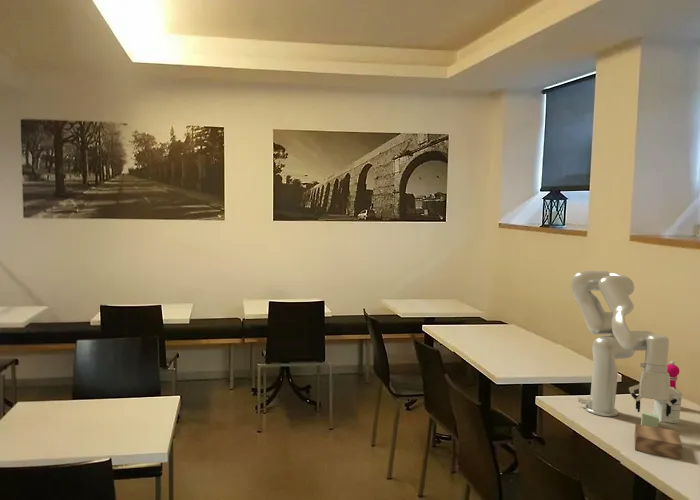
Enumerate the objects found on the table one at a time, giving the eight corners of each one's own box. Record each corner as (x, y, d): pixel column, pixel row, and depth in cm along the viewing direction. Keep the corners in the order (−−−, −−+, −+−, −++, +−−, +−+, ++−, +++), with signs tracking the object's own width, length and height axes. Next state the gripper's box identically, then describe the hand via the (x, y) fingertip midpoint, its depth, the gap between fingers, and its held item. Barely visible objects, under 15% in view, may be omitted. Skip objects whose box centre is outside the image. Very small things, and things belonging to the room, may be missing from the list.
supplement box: (652, 415, 251) (655, 385, 250) (670, 416, 251) (673, 386, 250) (660, 422, 244) (663, 391, 243) (679, 423, 243) (682, 392, 242)
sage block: (640, 434, 229) (642, 416, 228) (640, 429, 234) (642, 412, 233) (657, 437, 226) (658, 419, 226) (656, 432, 231) (658, 414, 231)
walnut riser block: (634, 450, 213) (636, 436, 212) (634, 436, 226) (635, 423, 225) (680, 459, 207) (681, 444, 207) (676, 444, 220) (678, 431, 220)
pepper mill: (680, 409, 261) (685, 363, 259) (663, 408, 261) (668, 362, 259) (672, 403, 268) (676, 359, 267) (655, 402, 268) (660, 358, 267)
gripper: (630, 367, 228) (627, 412, 229) (682, 373, 221) (679, 420, 222) (630, 363, 235) (627, 407, 235) (681, 369, 228) (677, 414, 228)
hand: (652, 413), depth 228 cm, fingers open, 9 cm apart
